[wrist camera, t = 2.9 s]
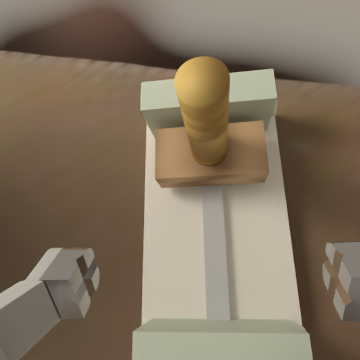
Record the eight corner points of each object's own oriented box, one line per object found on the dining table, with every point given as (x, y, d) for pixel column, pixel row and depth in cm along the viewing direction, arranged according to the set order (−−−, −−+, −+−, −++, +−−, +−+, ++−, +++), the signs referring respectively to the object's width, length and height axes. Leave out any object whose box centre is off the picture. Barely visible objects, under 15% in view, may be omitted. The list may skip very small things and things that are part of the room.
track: (146, 349, 27) (117, 379, 20) (151, 124, 34) (130, 83, 27) (300, 353, 25) (333, 387, 18) (270, 114, 33) (284, 67, 25)
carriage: (161, 188, 29) (115, 125, 16) (161, 142, 30) (120, 53, 18) (264, 182, 27) (298, 110, 15) (259, 135, 29) (286, 34, 16)
